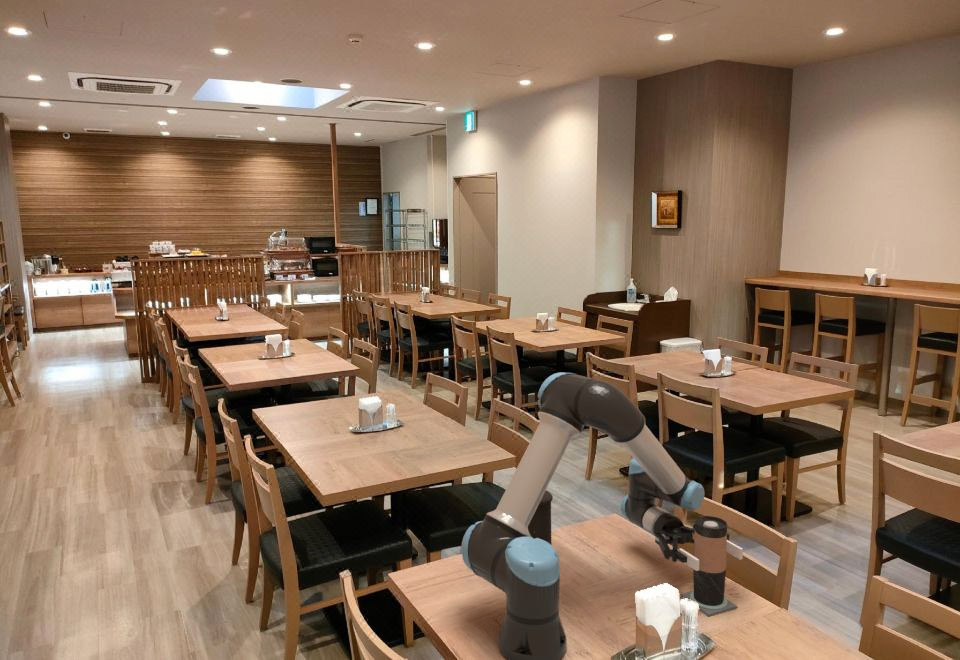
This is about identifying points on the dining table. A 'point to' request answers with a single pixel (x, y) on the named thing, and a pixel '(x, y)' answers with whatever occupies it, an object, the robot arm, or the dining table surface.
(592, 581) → the dining table surface
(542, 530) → the container
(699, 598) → the travel mug
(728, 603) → the coaster
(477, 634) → the dining table surface
